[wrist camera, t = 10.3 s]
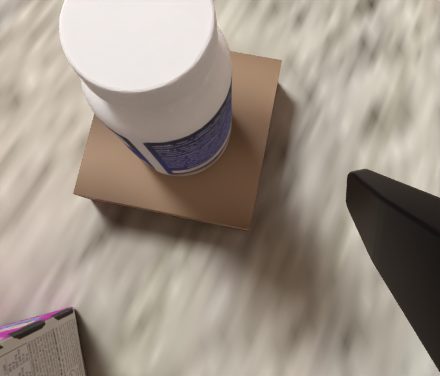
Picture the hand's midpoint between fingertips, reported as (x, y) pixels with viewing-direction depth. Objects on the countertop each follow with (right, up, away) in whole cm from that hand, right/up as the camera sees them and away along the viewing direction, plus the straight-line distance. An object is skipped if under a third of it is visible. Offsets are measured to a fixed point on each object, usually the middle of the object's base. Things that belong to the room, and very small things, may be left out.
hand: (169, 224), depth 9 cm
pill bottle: (-1, +4, +12) cm, 13 cm away
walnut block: (-1, +4, +14) cm, 15 cm away
